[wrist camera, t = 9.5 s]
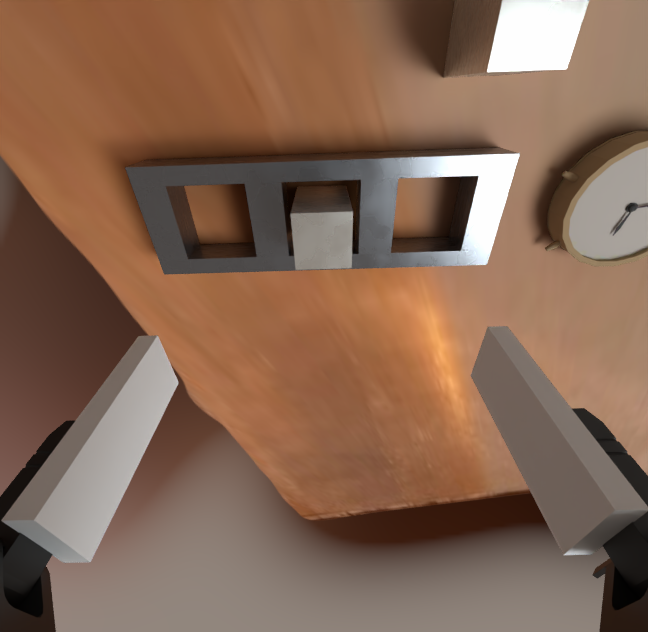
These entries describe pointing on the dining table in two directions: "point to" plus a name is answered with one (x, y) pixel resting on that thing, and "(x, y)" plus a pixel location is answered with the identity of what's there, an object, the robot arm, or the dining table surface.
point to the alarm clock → (604, 204)
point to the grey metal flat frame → (366, 167)
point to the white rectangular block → (512, 36)
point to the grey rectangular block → (322, 227)
